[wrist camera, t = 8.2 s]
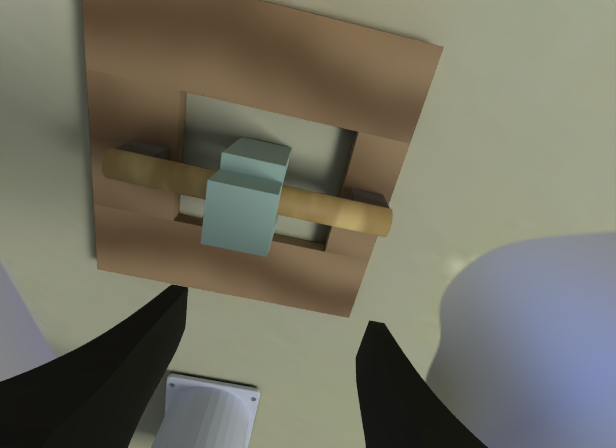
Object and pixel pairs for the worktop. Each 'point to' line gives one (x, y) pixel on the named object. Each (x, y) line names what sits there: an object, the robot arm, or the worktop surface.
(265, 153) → the stepped grey-green block
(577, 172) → the worktop surface
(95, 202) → the board with dowel handle
